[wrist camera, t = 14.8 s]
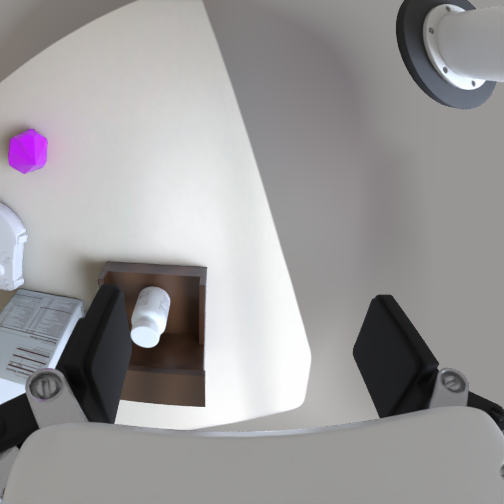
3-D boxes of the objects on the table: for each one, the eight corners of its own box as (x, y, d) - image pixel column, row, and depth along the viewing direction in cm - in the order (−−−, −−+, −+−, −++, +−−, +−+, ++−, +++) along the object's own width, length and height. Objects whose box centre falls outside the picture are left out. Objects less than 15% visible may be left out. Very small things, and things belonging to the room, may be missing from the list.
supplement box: (17, 286, 41) (-37, 361, 25) (84, 298, 43) (39, 388, 27) (40, 360, 49) (8, 432, 33) (100, 372, 51) (76, 454, 35)
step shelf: (208, 267, 42) (205, 319, 33) (206, 353, 50) (205, 407, 40) (106, 261, 40) (78, 309, 31) (120, 346, 48) (106, 397, 38)
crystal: (44, 123, 31) (25, 128, 27) (55, 161, 33) (38, 170, 29) (16, 138, 31) (-3, 145, 27) (27, 174, 33) (9, 184, 29)
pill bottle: (136, 306, 41) (123, 344, 34) (142, 281, 40) (129, 318, 33) (166, 315, 42) (158, 355, 36) (174, 291, 41) (166, 330, 34)
